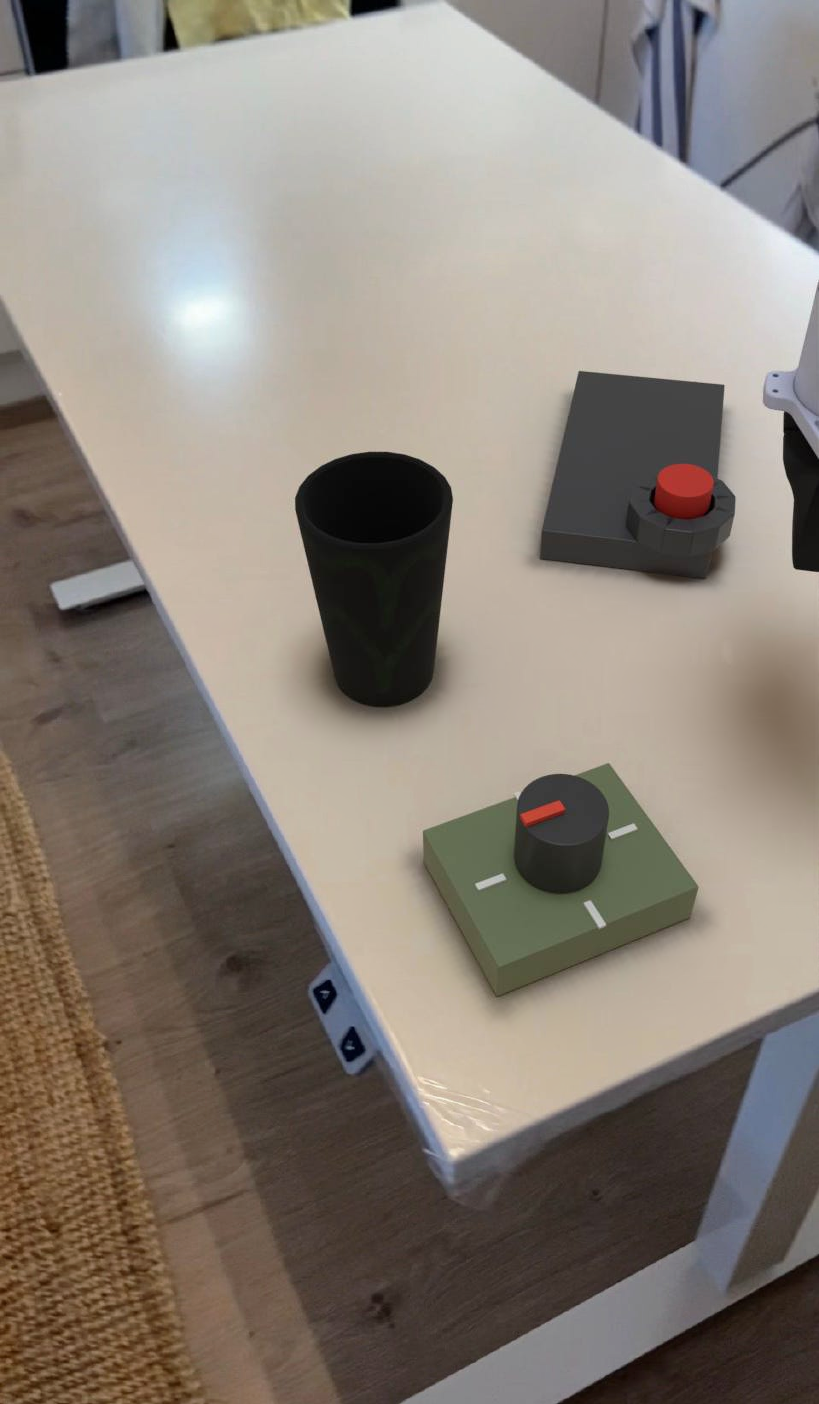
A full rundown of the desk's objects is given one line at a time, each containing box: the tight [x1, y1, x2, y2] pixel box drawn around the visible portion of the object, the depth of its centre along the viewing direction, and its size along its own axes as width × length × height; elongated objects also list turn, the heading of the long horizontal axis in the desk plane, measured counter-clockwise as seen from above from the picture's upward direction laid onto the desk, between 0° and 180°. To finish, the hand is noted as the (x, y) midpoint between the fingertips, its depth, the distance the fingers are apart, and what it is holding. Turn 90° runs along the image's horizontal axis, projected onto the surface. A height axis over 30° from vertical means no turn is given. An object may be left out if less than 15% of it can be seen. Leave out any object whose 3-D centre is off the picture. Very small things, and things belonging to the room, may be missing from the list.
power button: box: [654, 464, 714, 520], centre depth 70 cm, size 3×3×2 cm
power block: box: [539, 370, 737, 579], centre depth 76 cm, size 19×11×4 cm, turn 167°
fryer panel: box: [422, 762, 699, 997], centre depth 55 cm, size 10×8×3 cm
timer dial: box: [514, 773, 609, 893], centre depth 53 cm, size 4×4×4 cm
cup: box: [294, 451, 454, 708], centre depth 62 cm, size 8×8×12 cm
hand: (815, 562), depth 56 cm, fingers closed
